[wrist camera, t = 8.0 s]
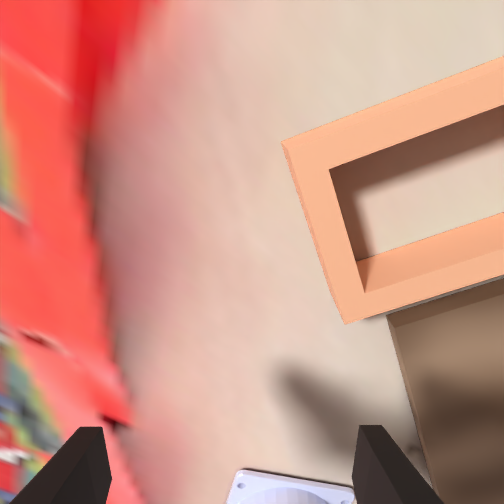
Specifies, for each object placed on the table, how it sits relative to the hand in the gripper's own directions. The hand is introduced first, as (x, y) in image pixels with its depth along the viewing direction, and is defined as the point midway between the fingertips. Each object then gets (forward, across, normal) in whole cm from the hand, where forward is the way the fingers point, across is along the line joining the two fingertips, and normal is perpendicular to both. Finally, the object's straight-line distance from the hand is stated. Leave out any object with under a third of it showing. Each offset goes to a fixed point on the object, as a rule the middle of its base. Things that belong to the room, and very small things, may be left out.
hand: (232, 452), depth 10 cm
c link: (+9, -9, -6) cm, 14 cm away
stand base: (+9, -16, +7) cm, 20 cm away
